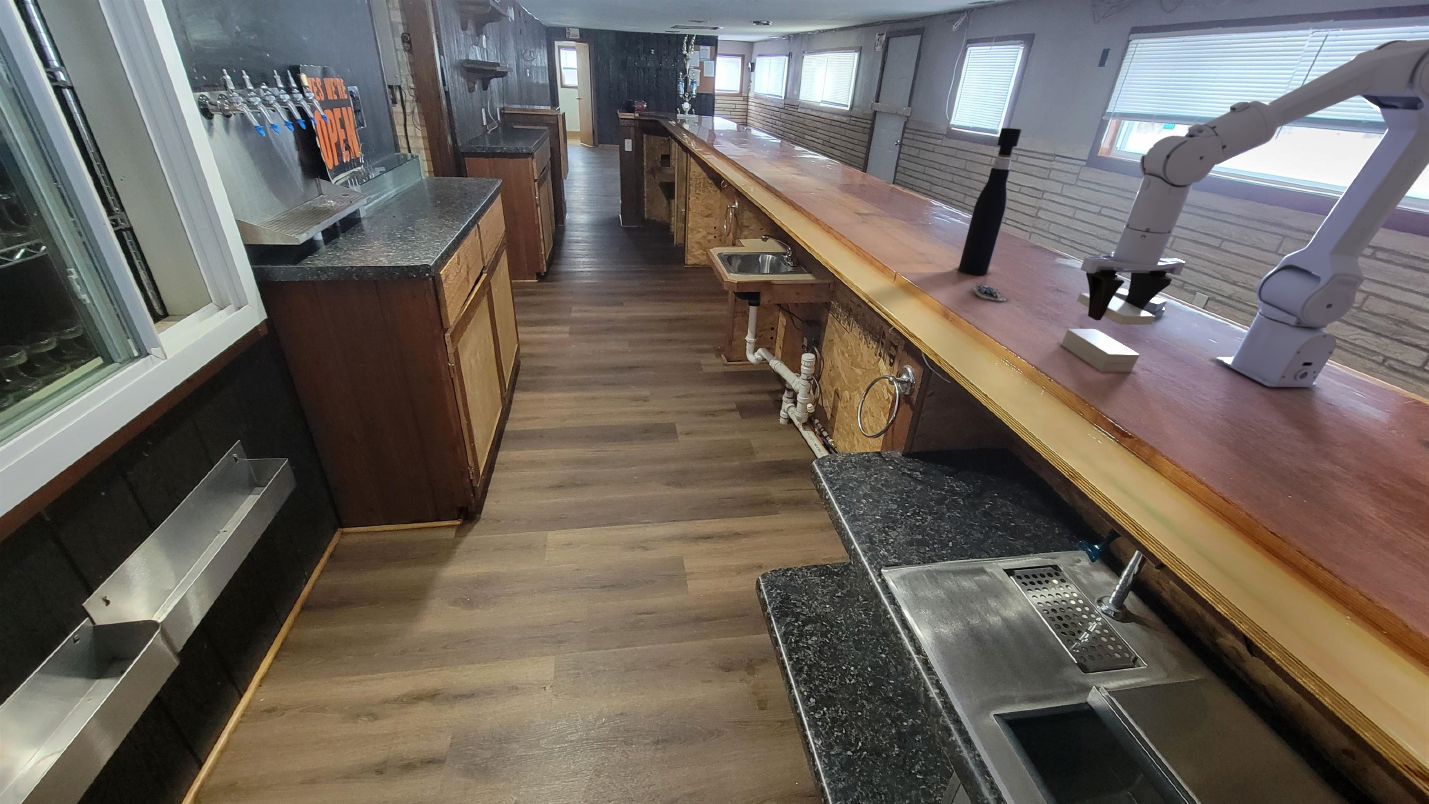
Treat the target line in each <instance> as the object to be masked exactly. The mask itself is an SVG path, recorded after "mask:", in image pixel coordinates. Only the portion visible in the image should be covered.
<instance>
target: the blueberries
mask: <svg viewBox="0 0 1429 804" xmlns="http://www.w3.org/2000/svg"><path fill="white" fill-rule="evenodd" d="M970 288H971V290H972V291H973V292H974V294H975V295H976V296H978V297H979V298H981V299H985V300H991V301H996V302H1006V300H1007V298H1006V297H1004V295H1003V293H1001V292H1002V291H1001V290H1000V291H999V289H996V288H995V287H992V286H990V285H987V286H986V285H985V284H980V285H976V286H970ZM1002 295H1003V296H1002Z"/></svg>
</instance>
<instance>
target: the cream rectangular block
mask: <svg viewBox="0 0 1429 804" xmlns="http://www.w3.org/2000/svg"><path fill="white" fill-rule="evenodd" d="M1060 345H1061V346H1062V347H1064V348H1065V349H1066V350H1068V351H1070V352H1071V353H1073V354H1074V355H1076V356H1077V357H1078V358H1079V359H1081V360H1083V361H1084V362H1086V363H1088V364H1090V365H1091V366H1092V367H1093V368H1095V369H1097V371H1100V372H1132V371H1133V369H1134V367H1135V365H1136V363H1137V361H1138V359H1139V357H1140V353H1137V352H1136V351H1135V350H1133V349H1131V348H1129V347H1128V346H1126V345H1123V344H1122V343H1120V342H1119V341H1117V340H1115V339H1114V338H1112V337H1110V336H1108V335H1107V334H1106V333H1103V332H1102V331H1100V330H1098V329H1096V328H1067V329H1066V332H1065V334H1064V337H1063V339H1062V341H1061V344H1060Z"/></svg>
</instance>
